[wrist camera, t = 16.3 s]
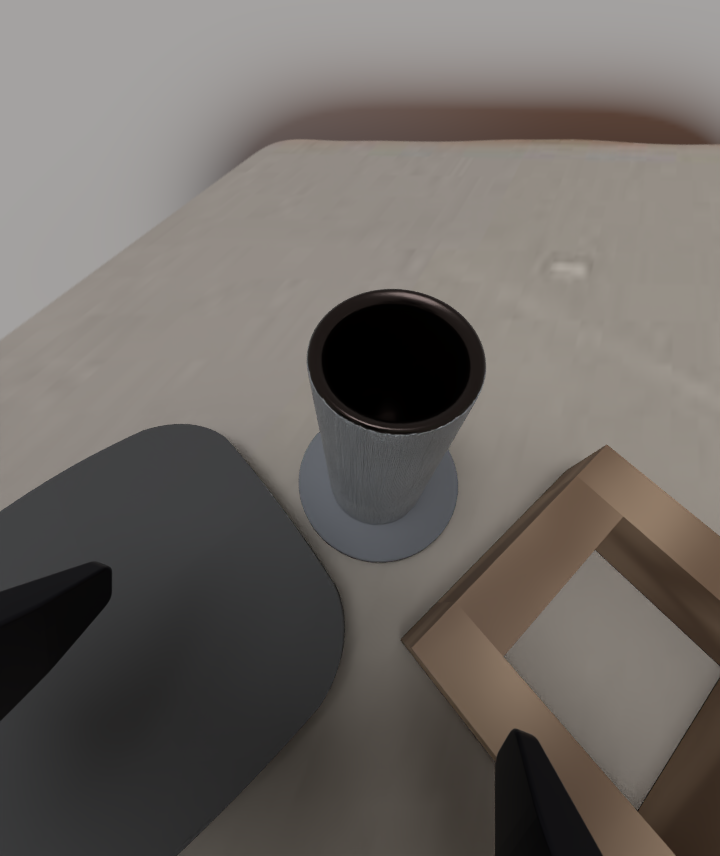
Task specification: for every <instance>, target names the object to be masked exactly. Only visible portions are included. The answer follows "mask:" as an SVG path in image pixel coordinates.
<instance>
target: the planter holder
mask: <svg viewBox="0 0 720 856" xmlns="http://www.w3.org/2000/svg"><path fill="white" fill-rule="evenodd" d="M594 550H596V551H597V552H598V553H600V554H601V555H602V556H603V557H604V558H605V559H606V560H607V561H608V562H609V563H610V564H611V565H612V566H613V567H615V568H616V569H617V570H618V571H619V572H620V573H621V574H622V575H623V576H624V577H625V578H626V579H627V580H629V581H630V582H631V583H632V584H633V585H634V586H635V587H636V588H637V589H638V590H639V591H640V592H641V593H642V594H644V595H645V596H646V597H647V598H648V599H649V600H650V601H651V602H652V603H653V604H654V605H655V606H656V607H657V608H659V609H660V610H661V611H662V612H663V613H664V614H665V615H666V616H667V617H668V618H669V619H670V620H671V621H673V622H674V623H675V624H676V625H677V626H678V627H679V628H680V629H681V630H682V631H683V632H684V633H685V634H686V635H688V636H689V637H690V638H691V639H692V640H693V641H694V642H695V643H696V644H697V645H698V646H699V647H700V648H701V649H703V650H704V651H705V652H706V653H707V654H708V655H709V656H710V657H711V658H712V659H713V660H714V661H715V662H717V663H718V664H719V665H720V536H719V535H717V534H716V533H715V532H714V531H713V530H711V529H710V528H709V527H708V526H706V525H705V524H704V523H703V522H701V521H700V520H699V519H698V518H697V517H695V516H694V515H693V514H692V513H690V512H689V511H688V510H687V509H685V508H684V507H683V506H682V505H681V504H679V503H678V502H677V501H676V500H674V499H673V498H672V497H671V496H669V495H668V494H667V493H666V492H665V491H663V490H662V489H661V488H660V487H658V486H657V485H656V484H655V483H653V482H652V481H651V480H650V479H649V478H647V477H646V476H645V475H644V474H642V473H641V472H640V471H639V470H637V469H636V468H635V467H634V466H633V465H631V464H630V463H629V462H628V461H626V460H625V459H624V458H623V457H622V456H620V455H619V454H618V453H617V452H615V451H614V450H613V449H612V448H610V447H609V446H608V445H605V446H604V447H602V448H601V449H599V450H598V451H596V452H594V453H593V454H591V455H590V456H588V457H587V458H585V459H584V460H582V461H581V462H579V463H577V464H576V465H574V466H573V467H571V468H570V469H568V470H567V471H565V472H564V473H563V474H562V475H561V476H560V478H559V479H558V480H557V481H556V482H555V483H554V484H553V485H552V486H551V487H550V488H549V489H548V490H547V491H546V492H545V493H544V494H543V495H542V496H541V497H540V498H539V499H538V500H537V501H536V502H535V503H534V504H533V505H532V506H531V507H530V508H529V509H528V510H527V511H526V512H525V513H524V514H523V515H522V516H521V517H520V518H519V519H518V520H517V521H516V522H515V523H514V524H513V525H512V526H511V527H510V528H509V529H508V531H507V532H506V533H505V534H504V535H503V536H502V537H501V538H500V539H499V540H498V541H497V542H496V543H495V544H494V545H493V546H492V547H491V548H490V549H489V550H488V551H487V552H486V553H485V554H484V555H483V556H482V557H481V558H480V559H479V560H478V561H477V562H476V563H475V564H474V565H473V566H472V567H471V568H470V569H469V570H468V571H467V572H466V573H465V574H464V575H463V576H462V577H461V578H460V579H459V580H458V581H457V583H456V584H455V585H454V586H453V587H452V588H451V589H450V590H449V591H448V592H447V593H446V594H445V595H444V596H443V597H442V598H441V599H440V600H439V601H438V602H437V603H436V604H435V605H434V606H433V607H432V608H431V609H430V610H429V611H428V612H427V613H426V614H425V615H424V616H423V617H422V618H421V619H420V620H419V621H418V622H417V623H416V624H415V625H414V626H413V627H412V628H411V629H410V630H409V631H408V632H407V633H406V634H405V636H404V637H403V638H402V639H401V641H402V643H403V644H404V645H405V647H406V648H407V649H408V650H409V652H410V653H411V654H412V656H413V657H414V658H415V659H416V661H417V662H418V663H419V665H420V666H421V667H422V668H423V670H424V671H425V672H426V674H427V675H428V676H429V677H430V679H431V680H432V681H433V683H434V684H435V685H436V686H437V688H438V689H439V690H440V692H441V693H442V694H443V695H444V697H445V698H446V699H447V701H448V702H449V703H450V704H451V706H452V707H453V708H454V710H455V711H456V712H457V713H458V715H459V716H460V717H461V719H462V720H463V721H464V722H465V724H466V725H467V726H468V728H469V729H470V730H471V731H472V733H473V734H474V735H475V737H476V738H477V739H478V740H479V742H480V743H481V744H482V746H483V747H484V748H485V749H486V751H487V752H488V753H489V755H490V756H491V757H492V758H493V760H494V761H495V762H496V757H497V754H498V751H499V750H500V748H501V746H502V745H503V743H504V741H505V739H506V738H507V736H508V734H509V733H510V731H511V730H512V729H514V728H517V729H519V730H522V731H525V732H527V733H530V734H532V735H533V736H535V737H536V738H537V739H538V741H539V742H540V744H541V746H542V748H543V749H544V751H545V753H546V755H547V756H548V758H549V760H550V762H551V764H552V765H553V767H554V769H555V771H556V773H557V774H558V776H559V778H560V780H561V781H562V783H563V785H564V787H565V789H566V790H567V792H568V794H569V796H570V797H571V799H572V801H573V803H574V805H575V806H576V808H577V810H578V812H579V813H580V815H581V817H582V819H583V821H584V822H585V824H586V826H587V828H588V830H589V831H590V833H591V835H592V837H593V838H594V840H595V842H596V844H597V846H598V847H599V849H600V851H601V853H602V854H603V856H720V679H719V681H718V682H717V684H716V686H715V687H714V689H713V690H712V692H711V694H710V695H709V697H708V699H707V700H706V702H705V703H704V705H703V707H702V708H701V710H700V712H699V713H698V715H697V716H696V718H695V720H694V721H693V723H692V725H691V726H690V728H689V729H688V731H687V733H686V734H685V736H684V738H683V739H682V741H681V742H680V744H679V746H678V747H677V749H676V751H675V752H674V754H673V755H672V757H671V759H670V760H669V762H668V764H667V765H666V767H665V768H664V770H663V772H662V773H661V775H660V776H659V778H658V780H657V781H656V783H655V785H654V786H653V788H652V789H651V791H650V793H649V794H648V796H647V798H646V799H645V801H644V802H643V804H642V806H641V807H640V809H639V811H637V810H636V809H635V808H634V807H633V806H632V805H631V803H630V802H629V801H628V800H627V799H626V798H625V797H624V795H623V794H622V793H621V792H620V791H619V790H618V788H617V787H616V786H615V785H614V784H613V783H612V782H611V780H610V779H609V778H608V777H607V776H606V775H605V773H604V772H603V771H602V770H601V769H600V768H599V767H598V765H597V764H596V763H595V762H594V761H593V760H592V758H591V757H590V756H589V755H588V754H587V753H586V752H585V750H584V749H583V748H582V747H581V746H580V745H579V743H578V742H577V741H576V740H575V739H574V738H573V737H572V735H571V734H570V733H569V732H568V731H567V730H566V728H565V727H564V726H563V725H562V724H561V723H560V722H559V720H558V719H557V718H556V717H555V716H554V715H553V713H552V712H551V711H550V710H549V709H548V708H547V707H546V705H545V704H544V703H543V702H542V701H541V700H540V698H539V697H538V696H537V695H536V694H535V693H534V692H533V690H532V689H531V688H530V687H529V686H528V685H527V683H526V682H525V681H524V680H523V679H522V678H521V677H520V675H519V674H518V673H517V672H516V671H515V670H514V668H513V667H512V666H511V665H510V664H509V663H508V662H507V660H506V659H505V658H504V657H503V656H504V655H505V654H506V653H507V652H508V651H509V649H510V648H511V647H512V646H513V645H514V644H515V642H516V641H517V640H518V639H519V638H520V637H521V635H522V634H523V633H524V632H525V631H526V630H527V628H528V627H529V626H530V625H531V624H532V623H533V621H534V620H535V619H536V618H537V617H538V616H539V614H540V613H541V612H542V611H543V610H544V609H545V607H546V606H547V605H548V604H549V603H550V602H551V600H552V599H553V598H554V597H555V596H556V594H557V593H558V592H559V591H560V590H561V589H562V587H563V586H564V585H565V584H566V583H567V582H568V580H569V579H570V578H571V577H572V576H573V575H574V573H575V572H576V571H577V570H578V569H579V568H580V566H581V565H582V564H583V563H584V562H585V561H586V559H587V558H588V557H589V556H590V555H591V554H592V552H593V551H594Z"/></svg>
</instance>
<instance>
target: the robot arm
mask: <svg viewBox="0 0 720 856" xmlns="http://www.w3.org/2000/svg"><path fill="white" fill-rule="evenodd" d="M111 595H112V569H111V567H109V566H107V565H105V564H102V563H100V562H96V561H92V562H88V563H85V564H82V565H79V566H76V567H73V568H70V569H67V570H64V571H61V572H57V573H54V574H51V575H48V576H45V577H42V578H39V579H36V580H33V581H30V582H27V583H24V584H21V585H18V586H15V587H12V588H9V589H6V590H3V591H0V721H1V720H2V719H3V718H4V717H5V716H6V715H7V714H8V713H9V712H10V711H11V710H12V709H13V708H14V707H15V706H16V705H17V704H18V703H19V702H20V701H21V700H22V699H23V698H24V697H25V696H26V695H27V694H28V693H29V692H30V691H31V690H32V689H33V688H34V687H35V686H36V685H37V684H38V683H39V682H40V681H41V680H42V679H43V678H44V677H45V676H46V675H47V674H48V673H49V672H50V671H51V669H52V668H53V667H54V666H55V665H56V664H57V663H58V662H59V661H60V659H61V658H62V657H63V656H64V655H65V653H66V652H67V651H68V650H69V649H70V648H71V646H72V645H73V644H74V643H75V642H76V641H77V639H78V638H79V637H80V636H81V635H82V634H83V632H84V631H85V630H86V629H87V628H88V627H89V625H90V624H91V623H92V622H93V621H94V619H95V618H96V617H97V616H98V615H99V614H100V612H101V611H102V610H103V609H104V608H105V607H106V605H107V604H108V602H109V600H110V598H111ZM495 856H603V854H602V853H601V851H600V849H599V847H598V846H597V844H596V842H595V840H594V838H593V837H592V835H591V833H590V831H589V830H588V828H587V826H586V824H585V822H584V821H583V819H582V817H581V815H580V813H579V812H578V810H577V808H576V806H575V805H574V803H573V801H572V799H571V797H570V796H569V794H568V792H567V790H566V789H565V787H564V785H563V783H562V781H561V780H560V778H559V776H558V774H557V773H556V771H555V769H554V767H553V765H552V764H551V762H550V760H549V758H548V756H547V755H546V753H545V751H544V749H543V748H542V746H541V744H540V742H539V741H538V739H537V738H536V737H535V736H533V735H532V734H530V733H527V732H525V731H522V730H519V729H517V728H514V729H512V730H511V731H510V733H509V734H508V736H507V738H506V739H505V741H504V743H503V745H502V746H501V748H500V750H499V751H498V754H497V757H496V763H495Z"/></svg>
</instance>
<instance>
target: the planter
mask: <svg viewBox="0 0 720 856" xmlns="http://www.w3.org/2000/svg"><path fill="white" fill-rule="evenodd" d="M307 368H308V375H309V380H310V385H311V390H312V395H313V400H314V405H315V410H316V415H317V420H318V425H319V430H320V435H321V440H322V445H323V450H324V454H325V459H326V464H327V469H328V474H329V479H330V484H331V489H332V492H333V494H334V497H335V499H336V501H337V503H338V504H339V506H340V507H341V508H342V509H343V510H344V511H345V512H346V513H347V514H348V515H349V516H351V517H352V518H354V519H356V520H358V521H360V522H363V523H367V524H373V525H380V524H387V523H391V522H394V521H396V520H398V519H400V518H402V517H403V516H404V515H406V514H407V513H408V512H409V511H410V510H411V509H412V508H413V506H414V505H415V504H416V502H417V501H418V499H419V497H420V496H421V494H422V492H423V490H424V489H425V487H426V485H427V484H428V482H429V480H430V479H431V477H432V475H433V473H434V472H435V470H436V468H437V467H438V465H439V463H440V461H441V460H442V458H443V456H444V455H445V453H446V451H447V450H448V448H449V446H450V444H451V443H452V441H453V439H454V438H455V436H456V434H457V432H458V431H459V429H460V427H461V426H462V424H463V422H464V421H465V419H466V417H467V415H468V414H469V412H470V410H471V409H472V407H473V405H474V403H475V402H476V400H477V398H478V396H479V394H480V392H481V390H482V387H483V384H484V380H485V374H486V360H485V354H484V350H483V347H482V344H481V341H480V339H479V337H478V335H477V333H476V332H475V330H474V329H473V327H472V326H471V325H470V323H469V322H468V321H467V320H466V319H465V318H464V317H463V316H462V315H461V314H460V313H459V312H457V311H456V310H455V309H454V308H452V307H451V306H449V305H448V304H446V303H444V302H442V301H440V300H438V299H436V298H434V297H432V296H429V295H426V294H423V293H419V292H415V291H410V290H402V289H383V290H375V291H370V292H365V293H362V294H359V295H356V296H354V297H351V298H349V299H347V300H345V301H343V302H342V303H340V304H338V305H337V306H336V307H334V308H333V309H332V310H331V311H329V312H328V313H327V314H326V315H325V316H324V318H323V319H322V320H321V321H320V322H319V324H318V325H317V327H316V328H315V330H314V332H313V334H312V336H311V339H310V342H309V346H308V351H307Z"/></svg>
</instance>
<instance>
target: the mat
mask: <svg viewBox="0 0 720 856" xmlns="http://www.w3.org/2000/svg"><path fill="white" fill-rule="evenodd" d="M299 492H300V498H301V502H302V505H303V508H304V511H305V513H306V515H307V517H308V519H309V521H310V523H311V525H312V526H313V528H314V529H315V531H316V532H317V533H318V534H319V535H320V536H321V538H322V539H323V540H324V541H326V542H327V543H328V544H329V545H330V546H331V547H333V548H334V549H336V550H338V551H339V552H341V553H343V554H345V555H347V556H349V557H352V558H355V559H358V560H362V561H368V562H392V561H397V560H401V559H405V558H407V557H410V556H412V555H414V554H416V553H418V552H419V551H421V550H423V549H424V548H426V547H427V546H428V545H429V544H431V543H432V542H433V541H434V540H435V539H436V538H437V537H438V536H439V535H440V534H441V533H442V531H443V530H444V529H445V527H446V526H447V524H448V522H449V520H450V518H451V516H452V514H453V511H454V508H455V505H456V500H457V495H458V479H457V472H456V468H455V464H454V461H453V459H452V456H451V454H450V452H449V450H447V451H446V453H445V455H444V456H443V458H442V460H441V461H440V463H439V465H438V467H437V468H436V470H435V472H434V473H433V475H432V477H431V479H430V480H429V482H428V484H427V485H426V487H425V489H424V490H423V492H422V494H421V496H420V497H419V499H418V501H417V502H416V504H415V505H414V506H413V508H412V509H411V510H410V511H409V512H408V513H407V514H406V515H404V516H403V517H402V518H400V519H398V520H396V521H394V522H391V523H387V524H380V525H373V524H367V523H363V522H360V521H358V520H356V519H354V518H352V517H351V516H349V515H348V514H347V513H346V512H345V511H344V510H343V509H342V508H341V507H340V506H339V504H338V503H337V501H336V499H335V497H334V494H333V492H332V489H331V484H330V479H329V474H328V469H327V464H326V459H325V454H324V450H323V445H322V440H321V435H320V432H319V433H318V434H317V435H316V436H315V437H314V439H313V440H312V442H311V443H310V445H309V446H308V448H307V450H306V452H305V455H304V457H303V460H302V463H301V467H300V473H299Z"/></svg>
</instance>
